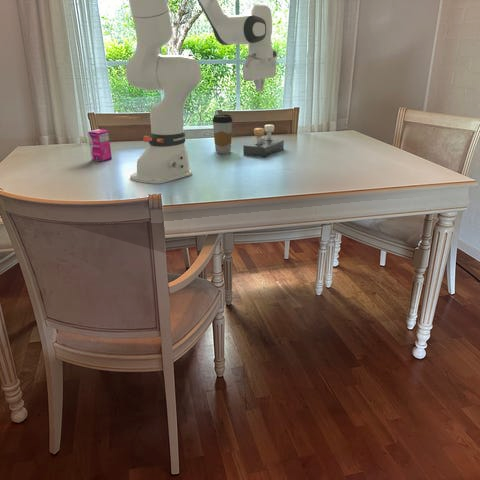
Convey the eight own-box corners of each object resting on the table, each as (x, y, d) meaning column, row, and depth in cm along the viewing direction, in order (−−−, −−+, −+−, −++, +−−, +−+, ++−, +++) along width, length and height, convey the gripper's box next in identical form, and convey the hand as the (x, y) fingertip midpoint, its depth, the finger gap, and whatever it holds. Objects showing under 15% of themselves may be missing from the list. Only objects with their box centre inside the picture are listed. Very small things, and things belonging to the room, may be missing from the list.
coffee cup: (234, 149, 193) (233, 114, 187) (231, 154, 185) (231, 117, 179) (214, 149, 194) (213, 114, 188) (211, 154, 186) (210, 117, 180)
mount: (264, 157, 180) (265, 147, 178) (243, 154, 185) (243, 145, 183) (283, 149, 193) (283, 140, 192) (263, 146, 198) (263, 137, 196)
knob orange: (260, 146, 182) (261, 130, 179) (252, 145, 183) (252, 129, 181) (265, 144, 185) (265, 128, 182) (256, 143, 187) (257, 127, 184)
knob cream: (271, 142, 189) (271, 126, 186) (262, 141, 190) (262, 125, 188) (275, 140, 192) (275, 125, 189) (267, 139, 194) (267, 124, 191)
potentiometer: (262, 143, 187) (262, 134, 185) (257, 142, 188) (257, 134, 186) (264, 141, 189) (264, 133, 187) (259, 141, 190) (259, 133, 188)
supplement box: (91, 160, 178) (86, 131, 173) (101, 157, 182) (97, 128, 178) (102, 162, 175) (98, 132, 170) (112, 158, 180) (108, 130, 175)
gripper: (253, 54, 160) (253, 94, 166) (279, 52, 176) (278, 89, 182) (238, 54, 163) (238, 93, 169) (265, 52, 179) (264, 88, 185)
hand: (259, 91), depth 175 cm, fingers closed
